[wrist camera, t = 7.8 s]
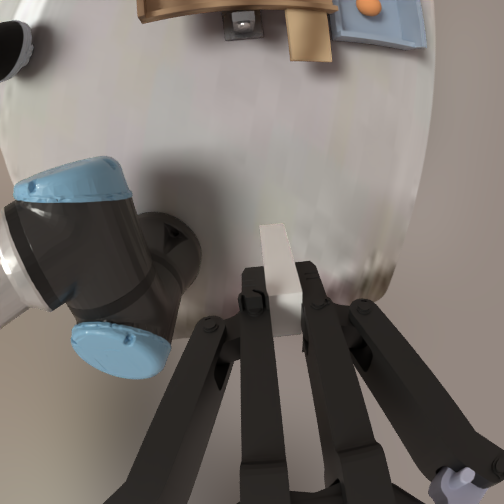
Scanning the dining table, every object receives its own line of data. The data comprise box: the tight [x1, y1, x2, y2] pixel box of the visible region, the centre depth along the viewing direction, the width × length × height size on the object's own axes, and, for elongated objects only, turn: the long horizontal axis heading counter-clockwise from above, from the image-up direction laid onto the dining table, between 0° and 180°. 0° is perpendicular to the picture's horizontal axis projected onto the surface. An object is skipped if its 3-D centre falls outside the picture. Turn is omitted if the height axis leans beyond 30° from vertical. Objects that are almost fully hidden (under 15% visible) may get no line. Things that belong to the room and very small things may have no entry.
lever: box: [137, 0, 338, 62], centre depth 21 cm, size 22×13×3 cm, turn 96°
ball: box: [356, 0, 382, 16], centre depth 24 cm, size 4×4×4 cm
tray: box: [329, 0, 427, 50], centre depth 23 cm, size 12×12×6 cm
